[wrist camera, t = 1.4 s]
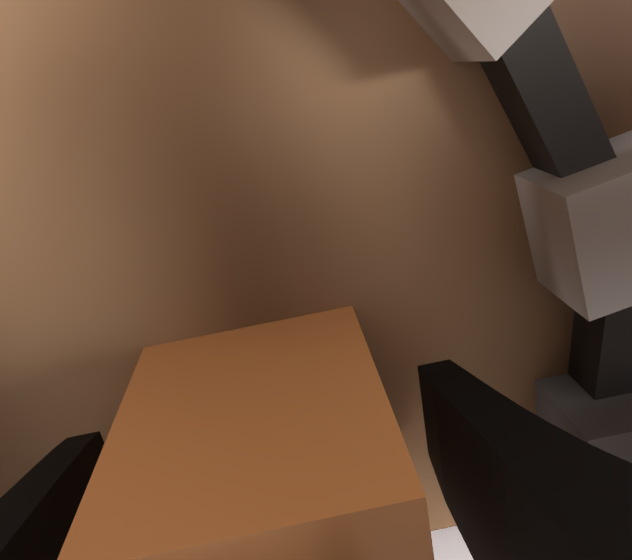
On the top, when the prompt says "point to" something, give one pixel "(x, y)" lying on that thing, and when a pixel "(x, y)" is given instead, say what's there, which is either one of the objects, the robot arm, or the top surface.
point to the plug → (255, 454)
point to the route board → (317, 199)
